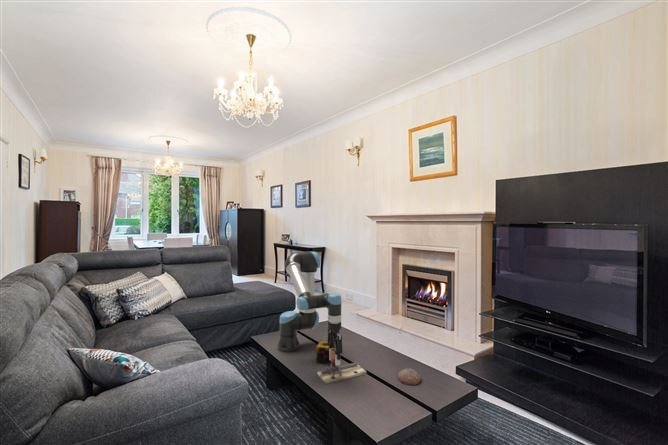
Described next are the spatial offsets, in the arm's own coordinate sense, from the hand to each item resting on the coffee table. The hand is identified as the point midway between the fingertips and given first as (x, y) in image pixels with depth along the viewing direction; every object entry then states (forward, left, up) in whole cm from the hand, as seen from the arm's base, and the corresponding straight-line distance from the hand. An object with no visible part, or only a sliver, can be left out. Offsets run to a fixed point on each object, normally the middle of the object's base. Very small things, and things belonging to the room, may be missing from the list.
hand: (334, 362), depth 183 cm
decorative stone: (+25, +32, -7) cm, 42 cm away
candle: (-17, +2, -6) cm, 18 cm away
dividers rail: (+4, +3, -5) cm, 7 cm away
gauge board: (+3, +3, -6) cm, 7 cm away
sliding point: (+3, 0, -5) cm, 5 cm away
